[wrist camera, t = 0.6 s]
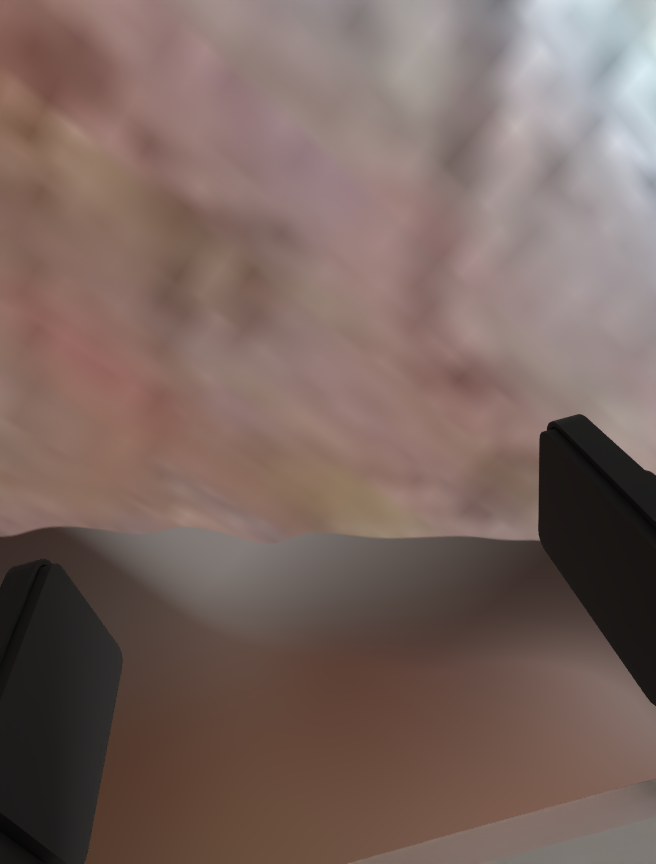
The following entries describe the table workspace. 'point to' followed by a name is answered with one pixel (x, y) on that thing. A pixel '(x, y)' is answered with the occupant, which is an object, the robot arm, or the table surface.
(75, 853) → the robot arm
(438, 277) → the table surface
